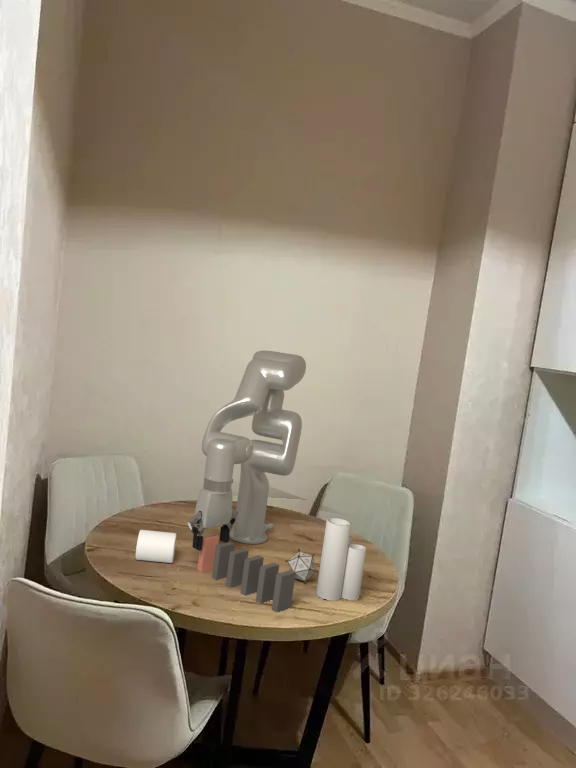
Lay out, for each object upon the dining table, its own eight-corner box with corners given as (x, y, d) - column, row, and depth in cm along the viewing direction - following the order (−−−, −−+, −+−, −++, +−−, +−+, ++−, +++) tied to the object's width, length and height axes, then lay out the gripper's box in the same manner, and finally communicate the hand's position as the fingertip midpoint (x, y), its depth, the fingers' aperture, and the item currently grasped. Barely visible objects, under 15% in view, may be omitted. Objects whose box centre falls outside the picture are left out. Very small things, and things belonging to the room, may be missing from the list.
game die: (292, 590, 178) (286, 554, 183) (322, 584, 178) (315, 548, 182) (287, 585, 170) (281, 547, 175) (319, 578, 170) (311, 541, 175)
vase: (321, 601, 164) (332, 525, 163) (312, 589, 171) (322, 516, 170) (361, 601, 168) (372, 527, 166) (351, 589, 175) (361, 518, 173)
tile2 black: (225, 574, 174) (229, 541, 173) (230, 576, 173) (234, 544, 172) (211, 577, 170) (215, 544, 169) (216, 580, 169) (220, 547, 168)
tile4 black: (254, 588, 167) (258, 555, 166) (259, 591, 166) (263, 557, 165) (240, 593, 163) (244, 558, 162) (245, 595, 162) (249, 561, 161)
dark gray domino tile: (239, 581, 170) (243, 548, 170) (244, 583, 169) (248, 550, 168) (225, 585, 167) (230, 551, 166) (230, 587, 165) (234, 553, 165)
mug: (171, 567, 174) (175, 538, 173) (134, 563, 173) (137, 535, 172) (175, 551, 186) (178, 525, 185) (140, 548, 185) (143, 521, 184)
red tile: (211, 566, 178) (215, 534, 177) (215, 568, 177) (219, 536, 176) (197, 569, 174) (201, 537, 173) (201, 572, 173) (205, 539, 172)
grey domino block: (285, 605, 159) (290, 570, 159) (290, 607, 158) (295, 572, 158) (271, 609, 156) (276, 573, 155) (277, 612, 155) (282, 576, 154)
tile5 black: (269, 596, 163) (274, 562, 162) (274, 599, 162) (279, 565, 161) (255, 601, 159) (260, 566, 159) (260, 604, 158) (265, 568, 157)
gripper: (231, 477, 183) (224, 535, 185) (183, 485, 170) (176, 547, 172) (249, 484, 178) (242, 543, 180) (201, 493, 165) (194, 556, 167)
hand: (210, 545), depth 176 cm, fingers open, 9 cm apart
